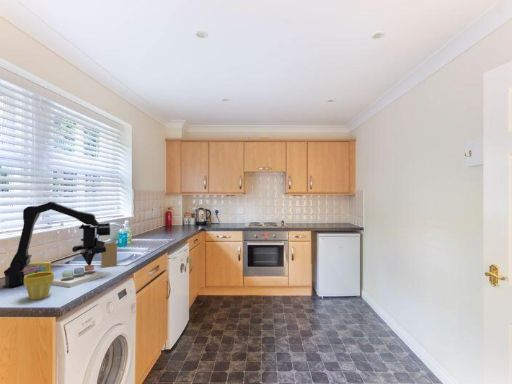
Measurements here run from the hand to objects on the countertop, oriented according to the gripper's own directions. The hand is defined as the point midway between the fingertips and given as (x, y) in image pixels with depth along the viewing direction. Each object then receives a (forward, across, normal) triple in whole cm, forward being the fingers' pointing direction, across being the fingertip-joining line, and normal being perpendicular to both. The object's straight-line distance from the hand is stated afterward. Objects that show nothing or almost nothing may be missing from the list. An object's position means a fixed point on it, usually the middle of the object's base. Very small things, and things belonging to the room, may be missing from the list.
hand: (89, 264), depth 149 cm
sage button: (+3, 0, +12) cm, 12 cm away
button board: (+6, 0, +6) cm, 9 cm away
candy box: (+7, +27, +11) cm, 30 cm away
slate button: (+3, 0, +6) cm, 7 cm away
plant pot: (+7, -6, +29) cm, 30 cm away
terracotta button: (+3, 0, 0) cm, 3 cm away
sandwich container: (+7, +12, -24) cm, 28 cm away
